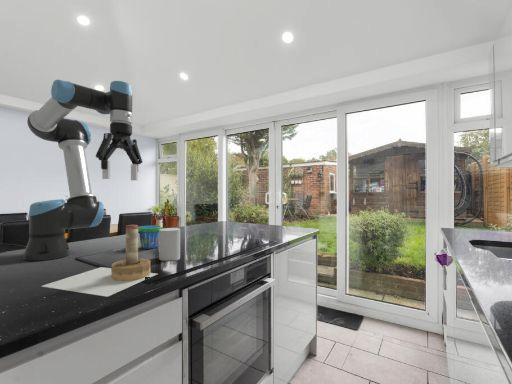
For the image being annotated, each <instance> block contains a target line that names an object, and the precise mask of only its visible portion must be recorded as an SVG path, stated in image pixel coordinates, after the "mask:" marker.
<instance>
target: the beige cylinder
mask: <svg viewBox="0 0 512 384" xmlns="http://www.w3.org/2000/svg"><path fill="white" fill-rule="evenodd" d="M138 227H139V225H138V224H128V225H127V224H126V225H125V260H126V265H135V264H138V258H139V232H138Z"/></svg>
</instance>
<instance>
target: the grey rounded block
mask: <svg viewBox="0 0 512 384" xmlns="http://www.w3.org/2000/svg"><path fill="white" fill-rule="evenodd" d="M180 259H181V228H179V227H167V228H166V227H164V228H163V229H159V243H158V260H160V261H165V262H166V261H169V262H170V261H179V260H180Z"/></svg>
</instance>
